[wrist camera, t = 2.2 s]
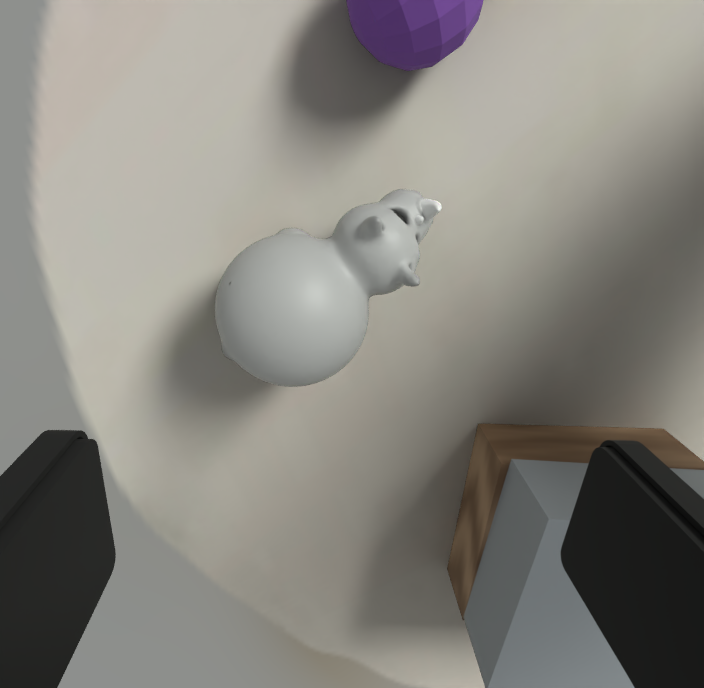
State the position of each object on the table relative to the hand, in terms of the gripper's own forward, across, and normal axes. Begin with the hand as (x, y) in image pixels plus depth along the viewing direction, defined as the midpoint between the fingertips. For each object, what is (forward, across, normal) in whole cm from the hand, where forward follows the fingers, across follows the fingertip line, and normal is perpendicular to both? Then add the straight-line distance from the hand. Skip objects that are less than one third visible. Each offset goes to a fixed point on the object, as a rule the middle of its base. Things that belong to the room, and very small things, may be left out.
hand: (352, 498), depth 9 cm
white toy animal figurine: (+20, 0, 0) cm, 20 cm away
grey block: (+16, -18, +18) cm, 30 cm away
